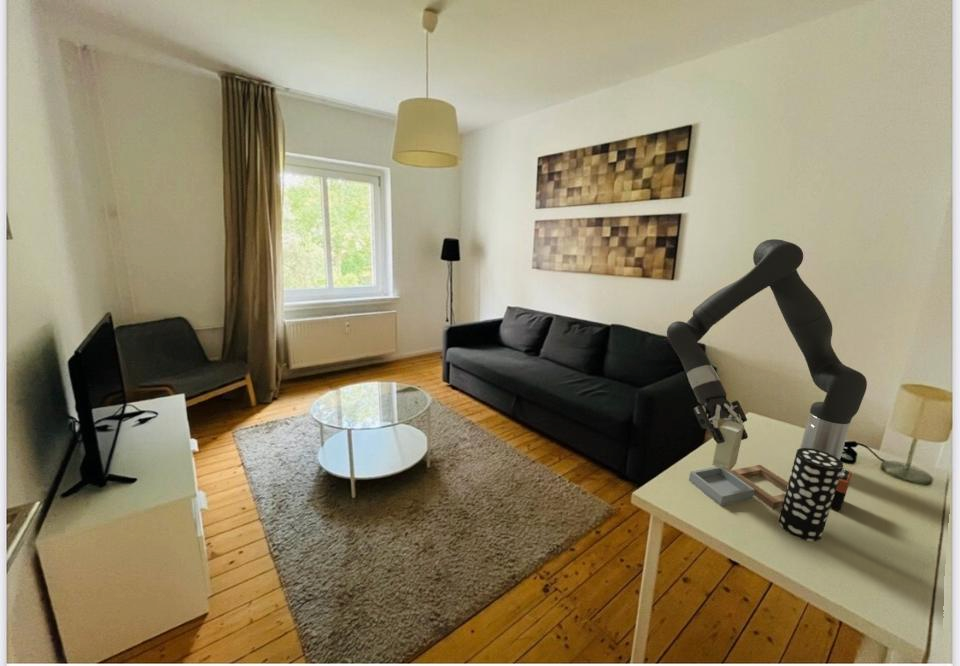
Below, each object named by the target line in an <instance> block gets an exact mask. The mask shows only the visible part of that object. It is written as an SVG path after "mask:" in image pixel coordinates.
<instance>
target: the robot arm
mask: <svg viewBox="0 0 960 666" xmlns="http://www.w3.org/2000/svg"><path fill="white" fill-rule="evenodd" d="M753 251H754V252H753V254H752V256H753V257H752V260H753V263H754V265H755V266H754V267H753V268H752V269H750V271H748V272H747V273H746V274H745V275H743V276H742V277H741V278H739V279H738V280H735V281H734V282H732V283H731V284H729V285H727V286H725V287H723V288H721V289H719V290H717V291H716V292H714V293H713V294H711V295H710V296H708V297H707V298H706V299H705V300H704V301H703V302H701V303H700V304H699V305H698V306H696V308H694V309H693V311H692V316H691V317H690V319H689V320H687V322H685V321H679V320H677V321H674V322H672V323H671V324H669V326H668V327H667V329H666V336H667V340H668V341H669V344H670V345H671V347H672V349H673V350H674V352H675V353H676V355H677V356H678V358H679V360H680V362H681V364H682V367H683V369H684V371H685V374H686V376H687V379H688V383H689V384H690V387H691V389H692V391H693V393H694V396H695V397H696V400H697V402H698V403H699V404H700V405H697V406H696V407H694V408H693V412H694V415H695V416H696V420H697V421H698V423H699V425H700V427H701V429H707V430H708V431H710V434H711V436H712V438H713V440H714V441H715V442H716V443H717V444H720V443H723V442H725V440H724V438H723V436H722V434H721V432H720V429H719V428H720V427H719V425H718V424H719V421H720V420H723V419H724V420H725V421H726V420H727V419H728V420H731V421H734V422H737V423H740V424H743V425H744V423H745V422H747V421H748V418H747V416H746V414H745V412H744V410H743V408H742V406H741V404H740V402H739V401H738V400H735V401H729V400H728V399H727V395H728V394H727V391H726V390H725V387H724V385H723V384H722V381H721V379H720V377H719V375H718V374H717V371H716V370H715V369H714V367H713V366H712V363H711V361H710V359H709V357H708V354H706V352H705V351H704V350H703V349H702V347H700V346H699V343H698V342H699V341H700V340H701V339H702V338H703V337H704V336H705V335H706V334H707V333H708V332H709V331H710V329H711V328H712V327H713V326H714V325H717V323H719V322H720V321H721V320H722V319H723V318H725V317H726V316H727V315H728V314H729V313H731V312H733V311H734V310H736V309H737V308H738V307H739V306H740V305H742V304H743V303H745V302H746V301H748V300H749V299H751V298H752V297H754V296H755V295H757V294H758V293H760V292H761V291H763V290H765V289H766V288H768V287H769V288H770V289H771V291H772V294H773V297H774V299H775V302H776V304H777V305H778V308H779V311H780V313H781V315H782V317H783V319H784V321H785V323H786V325H787V327H788V330H789V331H790V332H791V335H792V337H793V339H794V340H795V342H796V343H797V346H798V348H799V349H800V351H801V353H802V356H803V357H804V360H805V362H806V365H807V367H808V370H809V374H810V376H811V380H812V381H813V383H814V385H815V386H816V387H817V388H818V389H820V390H821V391H823V392H824V393H826V395H825V397H824V399H823V401H816V402H813V403H812V404H811V406H810V410H809V414H808V417H807V421H806V425H805V429H804V431H803V436H802V439H801V444H800V447H799V449H800V448H812V449H817V450H820V451H823V452H826V453H829V454H831V455H833V456H835V457H836V458H838V459H839V460H840V461H841V457H842V455H843V451H844V449H845V444H846V443H845V442H846V439H847V435H848V433H849V430H850V429H849V428H850V424H851V422H852V419H853V418H854V417H855V416H856V414H857V413H858V411H860V408H861V404H862V403H863V399H864V397H865V394H866V392H867V386H868V381H867V378H866V376H865V375H864V374H863V373H862V372H860V371H858V370H856V369H854V368H851V367H850V366H847V365H845V364H844V363H843V362H842V361H840V359H839V357H838V356H837V354H836V352H835V351H834V348H833V346H832V337H833V324H832V320H831V318H830V317H829V315H828V313H827V311H826V308H825V307H824V305H823V304H822V302H821V301H820V299H819V298H818V297H817V296H816V294H815V293H814V292H813V290H811V288H809V286H808V285H807V284H806V283H805V282H804V280H803V279H802V277H801V276H800V275H799V272H798V269H799V268H800V266H801V265H802V263H803V260H804V251H803V250H802V248H801V247H800V246H798V245H797V244H795V243H793V242H790V241H786V240H783V239H775V238H773V239H766V240H764V241H761V242H760V243H759V244H758V245H757V246H756V248H755V249H754V250H753ZM748 437H749V436H748V433H747V431H746V429H745V428H744V429H743V434H742V439H741V441H744V440H746V439H748Z"/></svg>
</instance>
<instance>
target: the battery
mask: <svg viewBox="0 0 960 666" xmlns="http://www.w3.org/2000/svg"><path fill="white" fill-rule="evenodd" d="M852 475H853V473H852V472H851V471H849V470H846V468H845V467H843V468H842V472H841V475H840V478H839V481H838V485H837V488H836V491H835V495H834V498H833V501H832V504H831V508H830V509H832V510H834V511H837V512H840V511H841V510H842V507H843V504H844V501H845V498H846V494H847V491H848V488H849V485H850V481H851V478H852Z"/></svg>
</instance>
